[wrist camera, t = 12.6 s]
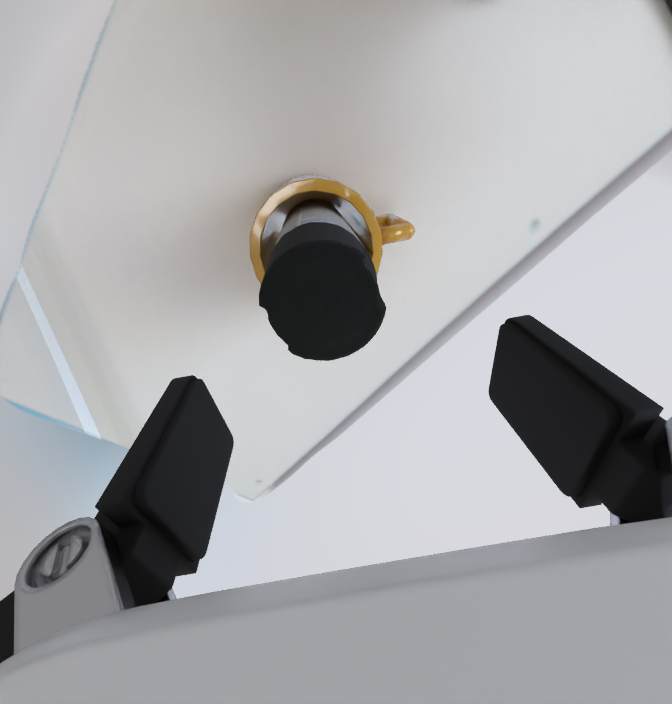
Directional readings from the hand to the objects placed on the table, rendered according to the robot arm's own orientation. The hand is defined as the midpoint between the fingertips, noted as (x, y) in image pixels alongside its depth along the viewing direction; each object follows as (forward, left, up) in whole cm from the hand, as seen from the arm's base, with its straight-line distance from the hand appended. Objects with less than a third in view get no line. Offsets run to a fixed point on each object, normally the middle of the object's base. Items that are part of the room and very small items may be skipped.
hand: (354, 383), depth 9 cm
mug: (-1, +1, -27) cm, 27 cm away
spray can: (0, 0, -26) cm, 26 cm away
